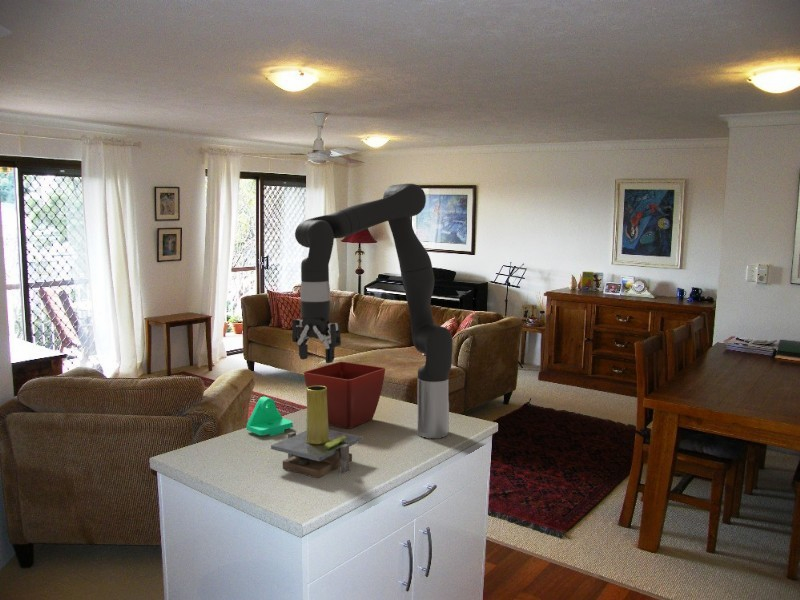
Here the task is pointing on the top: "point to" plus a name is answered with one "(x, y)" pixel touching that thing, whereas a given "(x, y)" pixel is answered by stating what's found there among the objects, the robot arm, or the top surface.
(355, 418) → the plant pot
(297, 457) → the levelling stand
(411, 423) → the top surface
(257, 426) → the camera mount
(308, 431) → the vase
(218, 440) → the top surface
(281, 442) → the tilt plate
